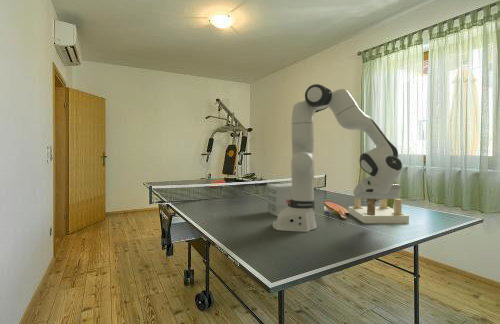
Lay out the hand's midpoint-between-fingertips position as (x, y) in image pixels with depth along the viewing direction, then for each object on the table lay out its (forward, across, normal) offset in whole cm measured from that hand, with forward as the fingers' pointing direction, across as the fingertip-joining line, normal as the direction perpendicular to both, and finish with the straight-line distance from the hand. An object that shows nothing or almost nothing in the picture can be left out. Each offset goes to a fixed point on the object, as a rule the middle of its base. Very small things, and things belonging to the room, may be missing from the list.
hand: (370, 201), depth 138 cm
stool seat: (+24, -13, -6) cm, 28 cm away
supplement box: (+34, +39, -13) cm, 54 cm away
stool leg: (+4, 0, +5) cm, 7 cm away
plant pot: (+39, -29, -20) cm, 52 cm away
